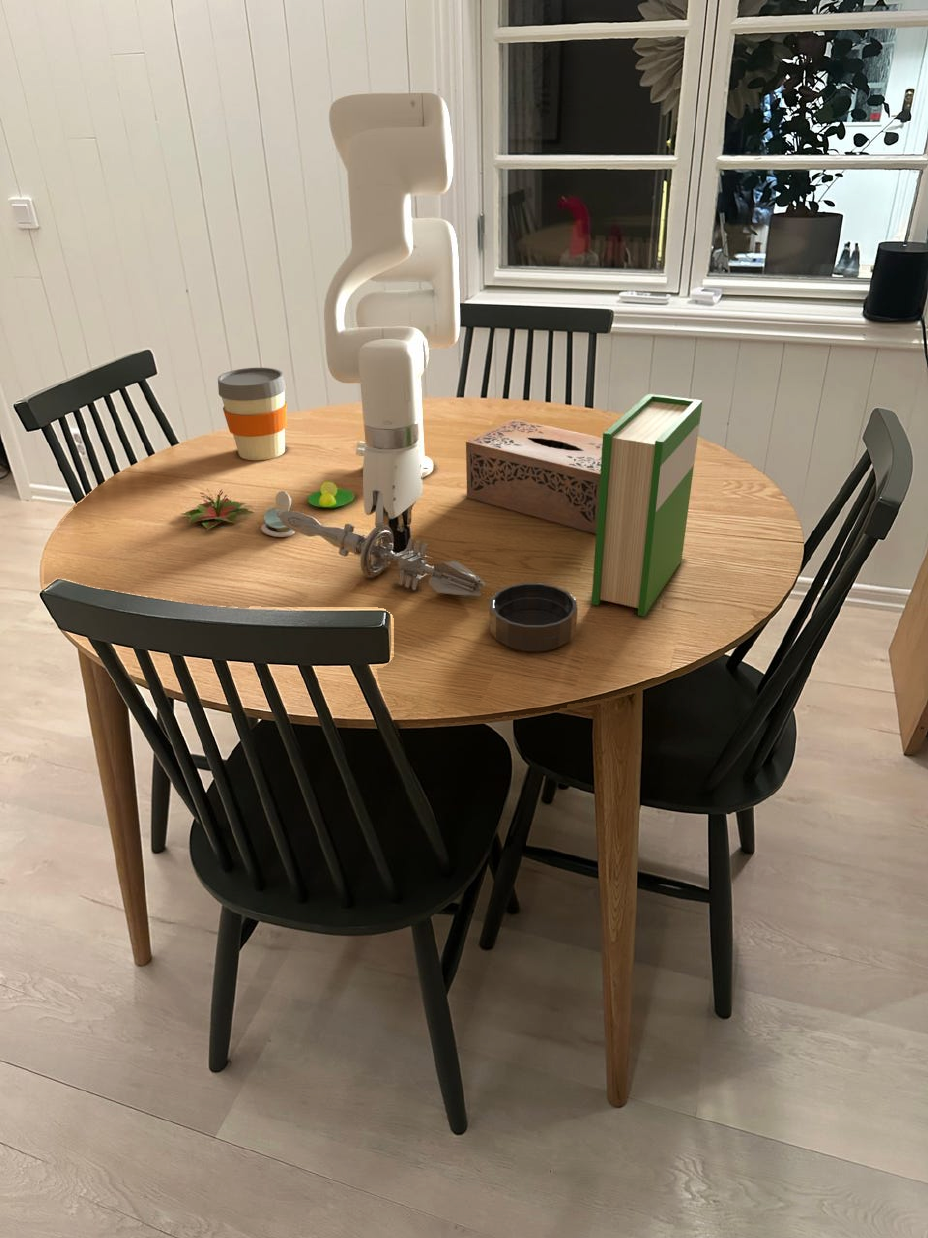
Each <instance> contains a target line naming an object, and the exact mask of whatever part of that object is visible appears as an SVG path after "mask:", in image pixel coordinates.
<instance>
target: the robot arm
mask: <svg viewBox="0 0 928 1238" xmlns="http://www.w3.org/2000/svg"><path fill="white" fill-rule="evenodd" d="M328 118H329V119H328V121H329V127H330V132H331V136H332V140H333V142H334V145H335V148H336V150H337V152H338V154H339V157H340V159H341V161H342V163H343V165H344V167H345V170H346V173H347V187H348V188H347V189H348V199H349V200H348V202H349V203H348V204H349V222H350V223H349V224H350V238H351V248H350V252H349V254H348V256H347V257H346V258H345V259H344V261H343V262H342V263H341V265H340V266H339V268H338V269H337V270H336V272H335V274H334V275H333V276H332V279H331V282H330V283H329V286H328V289H327V292H326V294H325V295H326V296H325V300H324V307H323V322H324V323H323V324H324V342H325V343H324V344H325V354H326V362H327V364H326V365H327V368H328V371H329V373H330V375H331V376H332V378H333V379H334V380H336V381H337V382H339V383H341V384H359V386H360V396H361V397H360V398H361V408H362V409H361V410H362V419H363V432H364V441H358V442H357V444H356V450H355V455H356V456H358V457H363V462H362V463H363V466H362V494H363V508H364V513H365V514H366V515H367V516H370V515H373V514H374V513H375V520H374V521H375V523H374V527H375V528H376V527H377V526H379V525H388V526H389V527H390V528H391V530H392V532H393V536H394V544H393V550H392V551H393V552H394V553H395V554H397V553H399V552H402V551H404V550H405V549H406V548H407V545H408V542H409V539H410V538H411V524H412V510H413V507H414V506H415V504H416V503H417V501H418V500H419V499H420V498H421V496H422V494H423V486H424V485H423V478H425V477H428V475H430V474H431V473H432V472H433V470H434V461H433V460H432V459H431V458H430V457H429V456H426V455H425V442H424V440H425V439H424V437H425V436H424V421H423V416H424V415H423V397H422V378H421V377H422V375H423V374H424V372H425V370H426V369H427V368H428V366H429V359H430V358H429V357H430V351H429V350H433V349H445V348H446V349H447V348H450V347H453V346H454V345H455V344H456V343H457V341H458V340H459V337H460V330H461V307H460V305H461V303H460V279H459V278H460V272H459V269H460V268H459V251H458V242H457V236H456V233H455V230H454V227H453V225H452V224H451V223H450V222H449V221H447V220H445V219H443V218H439V217H420V218H419V217H415V218H413V217H412V211H411V197H420V196H421V197H423V196H425V197H427V196H441V195H444V194H445V193H446V192H447V191H448V190H449V189H450V186H451V183H452V181H453V180H452V179H453V171H454V153H453V139H452V132H451V123H450V115H449V110H448V107H447V104H446V102H445V100H444V98H442V97H441V96H440V95H439V94H437V93H433V92H396V93H393V92H389V93H388V92H377V93H375V92H373V93H357V94H350V95H346V96H342V97H340V98H337V99H336V100H335V101H333V103H332V104H331V105H330V108H329V112H328ZM368 280H371V282H372V281H373V282H376V283H388V284H389V283H424V282H425V283H428V284H430V285H431V286H432V289H390V290H389V289H387V290H379V291H374V292H370V293H368V294H366V295H364V296H362V297H361V299H359V301H358V303H357V306H356V310H355V319H356V326H357V327H345V310H346V305H347V303H348V300H349V299H350V297H351V295H352V294H353V293H354V292H355V291H356V290H357V289H358V288H359V287H360V286H362V285H363V284H364V283H366V282H367V281H368Z"/></svg>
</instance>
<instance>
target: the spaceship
mask: <svg viewBox="0 0 928 1238" xmlns="http://www.w3.org/2000/svg"><path fill="white" fill-rule="evenodd" d="M279 518H280V519H281V521H282V523H283V524H284V525H285V526H286V527H288V528H289V529H291V530H293V531H295V533H299V534H301V535H303V536H306V537H316V536H317V537H321V538H322V539H324V540H325V541H326V542H328V543H329V544H331V545H332V546H333V547H336V548H338V554H339V555H340V556H342V557H348V556H349V553H352V554H354V555H355V556H356V555H357V556H360V558H359V561H360V563H359V565H360V570H361V572H362V574H363V575H364V576H365V577H366V578H368V579H369V578H376V577H377V576H379V575H380V574H381V573H382V572H383V571H384V569H386V568H388V567H389V566H390V564H391V562H395V563H397V567H399V568H400V569H401V570H402V571H401V570H400V571H399V570H392V569H391V571H393V572H396V573H397V574H399V579H398V585H400V586H403V584H405V585H404V587H405V588H410V586H411V582H412V586H411V590H413V591H416V590H417V587H418V585H419V581H420V580H421V579H422V578H424V577H426V576H428V575H429V576H431V577H430V578H429V580H428V583H429V584H430V586H431V587H432V589H433V590H434V592H435V593H437V594H446V595H456V596H474V597H479V596H483V595H484V591H481V590H480V588H484V587H486V586H487V582H485V581H484V580H482V579H481V578H480V577H479V575H478V574H476V573H475V572H473V571H472V570H470V569H469V568H468V567H466V566H465V565H463V564H462V563H461V562H460V561H458V560H452V561H444V562H435V563H433V564H432V566H431V565H429V561H427V560H426V559H424V558H430V559H432V557H431V556H428V555H426V552H427V547H428V543H426V542H423V543H422V546H421V541H420V540H416V541H415V545H413V543H414V538H410V539H409V542H408V545H407V548H406V549H405V550H404V551H402V552H399V553H395V552H393V551H392V550H393V544H394V536H393V532H392V530H391V528H390V527H389V526H388V525H379V526H377V527H376V526H375V527H374V528H373V529H372V530H371V531H370V533H369V534H368V535H367V536H366V535H365V534H360V533H358V532H355V526H354V525H353V524H351V523H349V522H348V523H345V524H344V527H341V526H325V525H323V524H321V523H320V522H319V521H318V519H316V517H313V516H311V515H308V514H306V513H302V512H300V511H296V510H289V511H285V512H282V513H281V514H280V515H279ZM413 546H414V547H413ZM420 546H421V549H420ZM419 551H420V552H419ZM412 580H413V581H412ZM404 581H405V583H404Z"/></svg>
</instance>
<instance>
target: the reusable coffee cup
mask: <svg viewBox="0 0 928 1238" xmlns="http://www.w3.org/2000/svg"><path fill="white" fill-rule="evenodd" d="M217 389H218V396H219V397H220V398H221V400H222V404H223V407H222V410H223V414H224V417H225V421H226V424H227V427H228V430H229V432H230V433H231V434H232V436H233V440H234V443H235V446H236V449H237V452H238V456H239V457H240V458H241V459H244V460H249V461H265V460H271V459H274V458H278V457H280V456H281V455H283V454H284V453H285V451H286V431H285V430H286V428H287V427H288V414H287V413H288V411H287V410H288V409H287V408H288V404H287V401H286V400H285V391H286V389H287V386H286V382H285V378H284V374H283V371H281V370H280V369H276V368H273V367H245V368H238V369H234V370H230V371H227V372H223V373H222V374H220V375H219V376H218V377H217Z"/></svg>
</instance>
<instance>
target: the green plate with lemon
mask: <svg viewBox="0 0 928 1238" xmlns="http://www.w3.org/2000/svg"><path fill="white" fill-rule="evenodd" d="M319 489H320V490H318V491H315V492H313V493H312V494H310V495H309V496H308V497H307V502H308V503H309V504H310V505H312V506H314V507H318V508H322V509H335V508H339V507H343V506H345V505H347V504H349V503H351V502H352V501H353V500H354V499H355V494H354V493H353V492H352V491H350V490H348V489H344V488H338V487H337V485H336V484H335V483H334V482H332V481H325V482H323V483H322V484H321V485H320V488H319Z"/></svg>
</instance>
